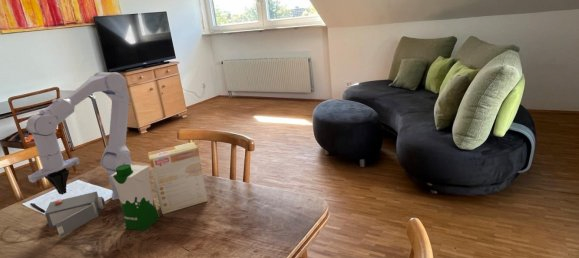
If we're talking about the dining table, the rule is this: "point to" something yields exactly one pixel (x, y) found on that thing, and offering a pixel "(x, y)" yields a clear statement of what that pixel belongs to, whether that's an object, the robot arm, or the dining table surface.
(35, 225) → the dining table surface
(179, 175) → the coffeecake box
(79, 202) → the box
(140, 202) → the milk carton
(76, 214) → the side door
